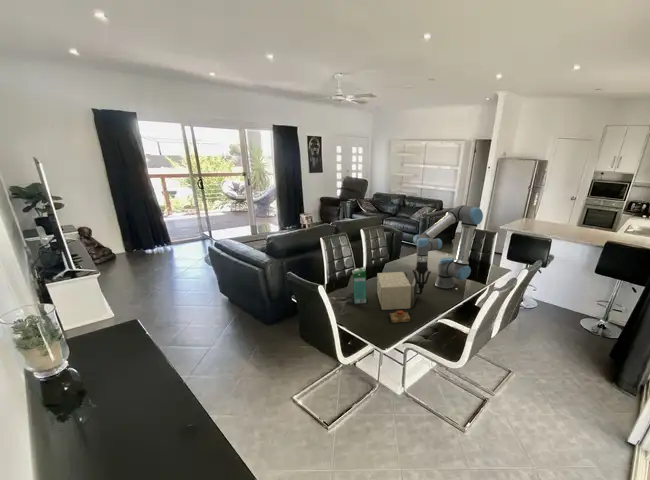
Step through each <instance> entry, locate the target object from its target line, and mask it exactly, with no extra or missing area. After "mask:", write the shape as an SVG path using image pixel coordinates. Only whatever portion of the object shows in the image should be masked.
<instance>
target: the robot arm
mask: <svg viewBox="0 0 650 480" xmlns="http://www.w3.org/2000/svg"><path fill="white" fill-rule="evenodd" d="M483 218H484V213H483V211H482V209H481V208H480V207H477V206H469V205H466V204H465V205H464V204H461V205H457V206H455V207H453V208H452V209H450V210H448V211H447V212H446V213H445V215H443V217H441V218H440V219H439V220H438V221H437V222H435V223H434V224H433V225H431V226H430V227H429V228H428V229H426V230H425V231H424V232H422V233H421V234H415V235H414V236H413V239H412V242H413V244H414V245H416V262H415V263H416V265H415V268H413V269H412V273H413V276H414V278H415V281H416V283H418V284H417V289H419V292H420V293H423V290H424V289H425V285H426V284H427V283H428V280H429V278H430V275H431V273H432V271H431V270H429V268H428V265H429V264H428V260H429V252H432V251H437V250H440V249H441V248H442V247H443V241H442V239H441V238H439V237H438V238H435V237H436V236H438V235H439V234H441V233H442V232H443V231H444V230H445V229H447V228H448V227H450V226H451V225H452V224H455V223H457V222H460V225H461V226H462V228H461V233H460V238H459V241H458V245H457V246H458V247H457V252H456V256H455V258H454V257H441V258H440V259H439V260H438V267H437V269H438V270H437V277H436V280H435V282H434V286H435V287H436V288H438V289H440V290H441V289H443V290H452V289H454V287H455V286H458V287H459V286H460V285H459V284H458V283H455V280H454V279H456V280H460V281H465V280H467V278H469V277H470V274H471V272H472V269H471V267H470V266H469V265H470V262H469V255H470V250H471V246H472V241H473V238H474V233H475V229H476V228H477V227H478V225H480V224H481V222H482V221H483ZM425 274H426V275H425ZM417 276H418V278H417ZM425 276H426V277H425ZM421 281H422V283H421Z"/></svg>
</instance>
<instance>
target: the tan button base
mask: <svg viewBox="0 0 650 480" xmlns="http://www.w3.org/2000/svg"><path fill="white" fill-rule="evenodd" d="M389 318H390V322H391V323H393V324H395V323H407V322H411V317H410V315H409V312H408V311H407V312H406V311H403V315H397V311H395V312H390V313H389Z"/></svg>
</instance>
